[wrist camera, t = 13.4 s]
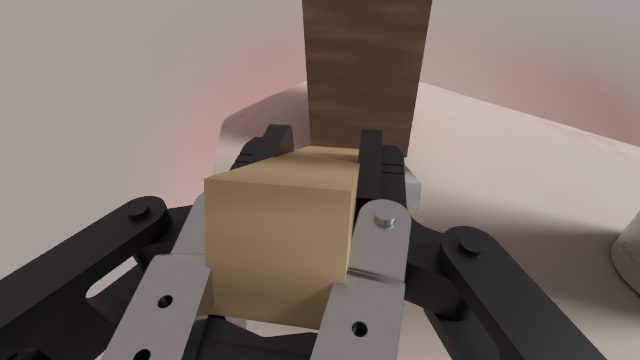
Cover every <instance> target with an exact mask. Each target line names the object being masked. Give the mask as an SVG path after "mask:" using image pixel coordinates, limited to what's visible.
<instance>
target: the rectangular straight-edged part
mask: <svg viewBox="0 0 640 360" xmlns="http://www.w3.org/2000/svg"><path fill="white" fill-rule="evenodd" d="M358 156H359V149H353V148H338V147H322V146H306V147H303V148H300V149H297V150H294V151H293V152H289V153H286V154H283V155H280V156H277V157H271V158H268V159H265V160H262V161H259V162H256V163H253V164H249V165H246V166H243V167H240V168H237V169H234V170H230V171H227V172H224V173H221V174H218V175H215V176H211V177H208V178H205V179H204V218H205V267H212V280H213V294H214V305H213V306H212V308H211V309H210V312H209V314H212V315H219V316H226V317H233V318H240V319H247V320H254V321H261V322H268V323H275V324H282V325H289V326H296V327H303V328H310V329H316V330H319V329H320V326H321V322H322V319H323V316H324V313H325V309H326V306H327V303H328V300H329V296H330V293H331V290H332V287H333V283H334V282H335V283H343V284H345V278H346V271H347V269H348V263H349V254H350V245H351V239H352V235H353V232H354V227H355V208H356V193H357V185H358V176H359V167H360V164H359V163H358ZM404 170H405V186H406V203H407V208H412V209H419V200H420V191H421V183H420V182H419V180H418V179H417V178H416V177H415V176H414V175H413V173H412V172H411V171H410V170H409V169H408V168H407V167H406V165H405V164H404Z"/></svg>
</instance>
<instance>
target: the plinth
mask: <svg viewBox="0 0 640 360" xmlns="http://www.w3.org/2000/svg"><path fill="white" fill-rule="evenodd" d="M431 5H432V0H302V7H303V21H304V22H303V23H304V38H305V54H306V70H307V86H308V102H309V118H310V134H311V146H322V147H338V148H353V149H359V147H360V139H361V131H362V129H364V130H381V131H383V133H382V145H392V146H397V147H398V148H399V149H400V151H401V152H402V153H403V155H404V157H407V151H408V145H409V139H410V133H411V127H412V121H413V115H414V108H415V102H416V96H417V90H418V84H419V78H420V72H421V66H422V59H423V53H424V48H425V41H426V35H427V29H428V23H429V17H430V11H431Z"/></svg>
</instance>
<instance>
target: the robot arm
mask: <svg viewBox="0 0 640 360" xmlns="http://www.w3.org/2000/svg"><path fill="white" fill-rule="evenodd" d="M382 133H383V131H381V130H364V129H362V131H361V139H360V147H359V156H358V163H359V164H360V167H359V176H358V185H357V193H356V208H355V227H354V232H353V235H352V239H351V245H350V254H349V263H348V269H347V271H346V278H345V284H343V283H335V282H334V283H333V287H332V290H331V293H330V296H329V300H328V303H327V306H326V309H325V313H324V316H323V319H322V322H321V326H320V329H319V332H318V333H312V332H308V333H299V334H291V335H282V336H273V337H262V336H259V335H257V334H255V333H252V332H250V331H248V330H246V319H240V318H233V317H226V316H219V315H212V314H209V312H210V309H211V308H212V306H213V305H214V294H213V280H212V267H205V218H204V192H203V193H202V194H201V195H200V196H198V198H197V199H196V201H195V202H194V204H193V205H190V206H184V207H177V208H170V209H167V207H166V204H165V202H164V201H163V200H162V199H161V198H159V197H155V196H144V197H139V198H136V199H133V200H131V201H129V202H127V203H125V204H124V205H122V206H121V207H119V208H117V209H116V210H114V211H112V212H111V213H109V214H107V215H106V216H104V217H103V218H101V219H99V220H98V221H96V222H94V223H93V224H91V225H89V226H88V227H87V228H85V229H83V230H81V231H80V232H78V233H76V234H75V235H74V236H71V237H70V238H68V239H67V240H65V241H64V242H62V243H60V244H58V245H57V246H55V247H54V248H52V249H50V250H49V251H47V252H45V253H44V254H42V255H40V256H39V257H38V258H36V259H34V260H32V261H31V262H29V263H27V264H26V265H24V266H22V267H21V268H19V269H18V270H16V271H14V272H13V273H11V274H10V275H8V276H6V277H4V278H3V279H1V280H0V360H95V359H96V358H97V357H98V356H99V355H100V354H101V353H102V352H104V351H105V350H106V351H105V353H104V355H103V357H102V359H101V360H397V352H398V344H399V335H400V327H401V318H402V310H403V301H404V300H407V301H409V302H411V303H413V304H416V305H418V306H420V307H422V308H423V309H424V312H425V314H426V316H427V317H428V319H429V321H430V323H431V324H432V326H433V328H434V329H435V331H436V333H437V335H438V336H439V338H440V340H441V341H442V343H443V345H444V347H445V348H446V350H447V352H448V353H449V355H450V357H451V358H452V360H607V359H606V358H605V357H604V356H603V355H602V354H601V353H600V351H599V350H598V349H597V348H596V347H595V346H594V345H593V344H592V343H591V342H590V341H589V340H588V339H587V338H586V336H585V335H584V334H583V333H582V332H581V331H580V330H579V329H578V328H577V327H576V326H575V325H574V324H573V323H572V321H571V320H570V319H569V318H568V317H567V316H566V315H565V314H564V313H563V312H562V311H561V310H560V309H559V308H558V306H557V305H556V304H555V303H554V302H553V301H552V300H551V299H550V298H549V297H548V296H547V295H546V294H545V293H544V291H543V290H542V289H541V288H540V287H539V286H538V285H537V284H536V283H535V282H534V281H533V280H532V279H531V278H530V276H529V275H528V274H527V273H526V272H525V271H524V270H523V269H522V268H521V267H520V266H519V265H518V264H517V263H516V261H515V260H514V259H513V258H512V257H511V256H510V255H509V254H508V253H507V252H506V251H505V250H504V249H503V248H502V246H501V245H500V244H499V243H498V242H497V241H496V240H495V239H494V238H493V237H492V236H490V235H489V234H487V233H486V232H484V231H482V230H480V229H477V228H474V227H469V226H457V227H453V228H450V229H449V230H447V231H446V232H445V233H444V234H443V233H440V232H437V231H434V230H431V229H429V228H426V227H424V226H422V225H421V224H419V223H418V222H416V221H415V220H414V219H413V218H412V217H411V215H410V213H409V212H408V210H407V203H406V186H405V170H404V155H403V153H402V152H401V151H400V149H399V148H398V147H397V146H392V145H382ZM293 151H294V143H293V133H292V127H291V126H290V125H276V124H270V125H269V126H268V128H267V130H266V132H265V134H264V135H263V137H255V138H253V139H252V140H250V141H249V142H248V143H246V144H245V145H244V147H243V149H242V150H241V152H240V155H238V157H237V159H236V160H235V163H234V164H233V165H232V167H231V169H230V170H234V169H237V168H240V167H243V166H246V165H249V164H253V163H256V162H259V161H262V160H265V159H268V158H271V157H277V156H280V155H283V154H286V153H289V152H293ZM230 170H229V171H230ZM131 256H133V257H134V259H135V260H136V262H137V263H138V264H137V265H136V266H134V267H133V268H132V269H131V270H129V271H128V272H127V273H125V274H124V275H123V276H121V277H120V278H119V279H117V280H116V281H115V282H113V283H112V284H111V285H109V286H108V287H107V288H105V289H104V290H103V291H101V292H100V293H99V294H97V295H96V296H93V297H91V298H86V293H87V291H88V290H89V288H90V287H91V286H92V285H93V284H94V283H96V282H97V281H98V280H100V279H101V278H102V277H104V276H105V275H107V274H108V273H109V272H111V271H112V270H113V269H115V268H116V267H118V266H119V265H120V264H121V263H123V262H124V261H126V260H127V259H129V258H130V257H131ZM611 257H612V261H613V263H614V265H615V268H616V269H617V271H618V272H619V274H620V275H621V276H622V278H623V279H624V280H625V281H626V282H627V283H628V284H629V285H630V286H631V287H632V288H633V289H634V290H635V291H636V292H637V293H639V294H640V211H639V212H638V214H637V215H636V216H635V217H634V219H633V220H632V221H631V222H630V224H629V225H628V226H627V227H626V228H625V230H624V231H623V232H622V233H621V235H620V236H619V237H618V238H617V239H616V241H615V242H614V243H613V244H612V248H611Z"/></svg>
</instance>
